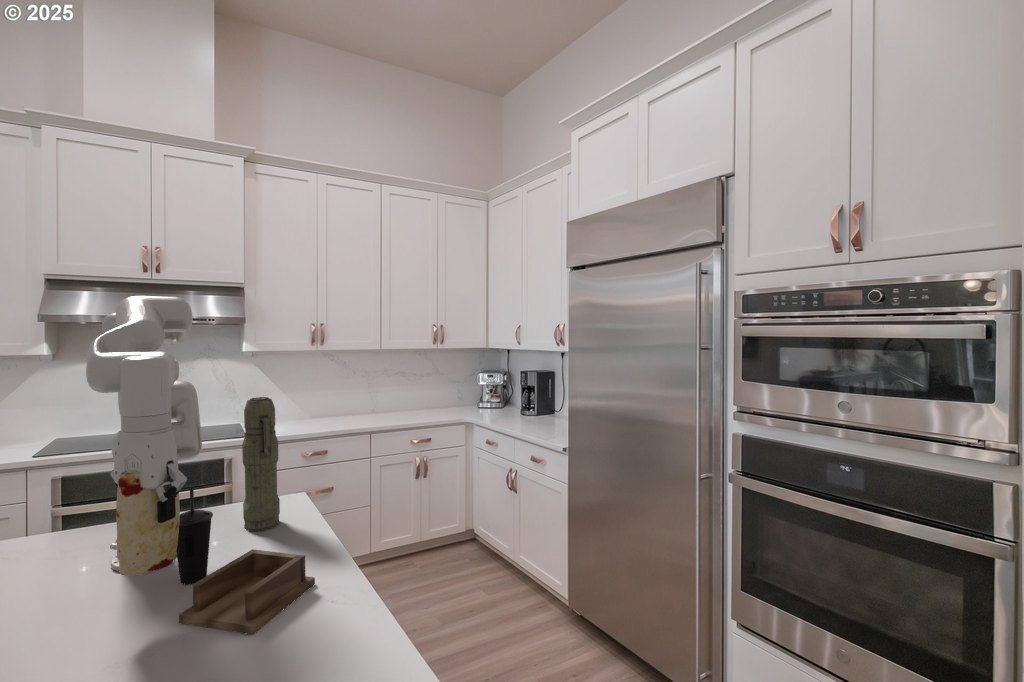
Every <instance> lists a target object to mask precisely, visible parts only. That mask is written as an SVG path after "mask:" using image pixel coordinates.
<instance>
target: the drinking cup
mask: <svg viewBox="0 0 1024 682" xmlns="http://www.w3.org/2000/svg"><path fill="white" fill-rule="evenodd" d="M194 491H195V490H194V487H193V486H191V487H189V503H190V504H189V510H187V511H183V512H182V513H180V522H179V534H178V544H177V550H176V552H177V554H176V560H177V565H178V566H177V567H178V573H179V574H178V575H179V581H180V584H181V585H184V584H185V586H187V585H189V584H190V585H193V584H194V583H196V582H198V581H199V580H201V579H203V578H204V577H206V576H208V565H209V552H210V550H209V549H210V540H211V539H210V538H211V529H212V528H211V527H212V526H211V525H212V518H213V516H214V513H213V512H212V511H211V510H205V509H195V500H194V497H195V496H194V495H195V494H194ZM190 585H189V586H190Z"/></svg>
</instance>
